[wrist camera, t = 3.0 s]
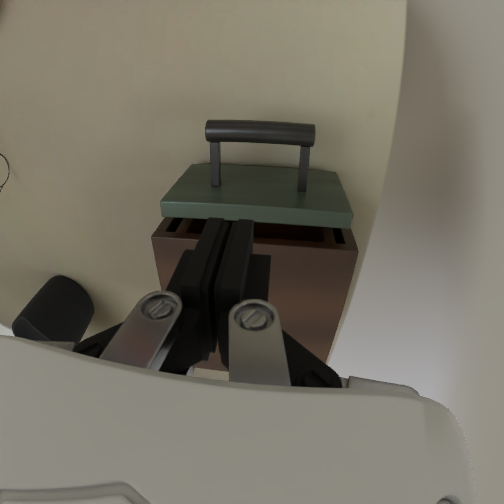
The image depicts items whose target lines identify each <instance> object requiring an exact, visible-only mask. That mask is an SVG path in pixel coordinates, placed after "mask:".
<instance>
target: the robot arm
mask: <svg viewBox="0 0 504 504" xmlns="http://www.w3.org/2000/svg"><path fill="white" fill-rule="evenodd" d="M253 232H254V220H250V219H239V220H238V223H237V222H233V224H232V227H231V230H230V233H229V222H224V218H214V217H209V218H208V220H207V222H206V224H205V226H204V229H203V231H202V233H201V235H200V238H199V240H198V242H197V244H196V247H195V249H194V250H190V249H186V250H184V252H183V254H182V256H181V258H180V260H179V262H178V264H177V266H176V269H175V271H174V273H173V275H172V277H171V279H170V281H169V284H168V286H167V288H166V290H165V291H155V292H152V293H149V294H147V295H145V296H144V297H143V298H142V299H141V300H140V301H139V302H138V303H137V304H136V306H135V307H134V309H133V310H132V311H131V313H130V314H129V315H128V317H127V318H126V320H125V321H124V322H122V323H120V324H118V325H116V326H113V327H111V328H109V329H107V330H105V331H102V332H100V333H98V334H96V335H94V336H92V337H89V338H87V339H85V340H83V341H82V342H80V343H79V344H78V345H76V344H75V342H58V341H35V340H34V341H32V340H28V339H24V338H20V337H14V336H4V335H0V504H478V502H477V501H478V500H477V491H476V484H475V478H474V473H473V468H472V463H471V458H470V454H469V450H468V447H467V443H466V440H465V437H464V435H463V432H462V429H461V427H460V425H459V423H458V421H457V420H456V418H455V416H454V415H453V414H452V412H451V411H450V410H449V409H447V408H446V407H445V406H443V405H442V404H440V403H438V402H436V401H434V400H431V399H429V398H426V397H422V396H420V395H419V394H418V392H417V391H416V390H414V389H413V388H412V387H409V386H405V385H399V384H393V383H387V382H380V381H375V380H369V379H364V378H358V377H354V376H349V378H348V379H346V378H341V377H339V375H338V374H337V373H336V372H335V371H334V370H333V369H331V368H330V367H329V366H328V365H326V364H325V363H324V362H323V361H321V360H320V359H319V358H317V357H316V356H315V355H314V354H312V353H311V352H310V351H309V350H307V349H306V348H305V347H304V346H302V345H301V344H300V343H299V342H297V341H296V340H295V339H294V338H292V337H291V336H290V335H289V334H288V333H286V332H285V331H284V330H283V329H282V328H281V323H280V317H279V313H278V311H277V309H276V308H275V307H274V306H273V305H272V304H270V303H269V302H268V294H269V280H270V266H271V255H263V254H253ZM217 343H218V348H219V354H220V355H221V363H222V364H223V365H224V366H225V367H226V368H227V369H228V370H229V381H221V380H213V379H205V378H198V377H192V375H193V372H194V368H195V367H194V365H195V364H197V363H198V362H200V361H208V359H209V355H210V353H215V351H216V347H217Z"/></svg>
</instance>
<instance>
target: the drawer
mask: <svg viewBox="0 0 504 504" xmlns="http://www.w3.org/2000/svg"><path fill="white" fill-rule="evenodd" d="M205 137H206V140H207V141H208V142H210V161H211V164H192V165H191V166H190V167H189V168H188V169H187V170H186V171H185V172H184V174H183V175H182V176H181V177H180V178H179V179H178V181H177V182H176V183H175V184H174V185H173V186H172V188H171V189H170V190H169V191H168V192H167V194H166V195H165V196H164V197H163V198H162V200H161V201H160V205H161V213H162V217H176V218H183V220H182V222H181V223H180V225H179V227H178V228H177V230H176V232H180V233H197V234H201V233H202V231H203V229H204V226H205V224H206V222H207V220H208V218H209V217H214V218H224V222H229V233H230V230H231V227H232V224H233V222H237V223H238V220H239V219H250V220H254V232H253V237H257V238H272V239H286V240H299V241H312V242H325V243H336V242H335V238H334V234H333V230H332V228H341V229H350V228H351V224H352V219H353V211H352V209H351V206H350V204H349V202H348V199H347V197H346V195H345V192H344V190H343V188H342V185H341V183H340V181H339V178H338V176H337V174H336V172H329V171H318V170H308V167H309V156H310V147H313V146H314V141H315V125H314V124H303V123H291V122H276V121H255V120H208V121H207V122H206V127H205ZM220 142H249V143H270V144H286V145H299V146H301V148H300V161H299V169H295V168H282V167H266V166H247V165H221V162H220Z"/></svg>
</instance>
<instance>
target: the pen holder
mask: <svg viewBox="0 0 504 504" xmlns="http://www.w3.org/2000/svg"><path fill="white" fill-rule="evenodd" d="M93 314H94V308H93V304H92V301H91V299H90V297H89V296H88V294H87V293H86V292H85V291H84V289H83V288H82V287H80V286H79V285H78V284H77V283H75V282H74V281H72V280H70V279H68V278H66V277H61V276H57V277H53V278H51V279H50V280H49V281H48V282H47V283H46V284H45V285H44V286H43V287H42V288H41V289H40V290H39V291H38V293H37V294H36V295H35V296H34V297H33V298H32V300H31V301H30V302H29V303H28V304H27V306H26V307H25V308H24V309H23V310H22V312H21V313H20V314H19V315H18V317H17V318H16V319H15V320H14V322H13V324H12V331H13V333H14V335H15V337H20V338H24V339H28V340H32V341H34V340H35V341H58V342H75V344H76V345H78V344H79V342H80V340H81V339H82V337H83V335H84V333H85V331H86V329H87V327H88V325H89V323H90V321H91V319H92V317H93Z"/></svg>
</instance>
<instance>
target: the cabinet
mask: <svg viewBox="0 0 504 504" xmlns="http://www.w3.org/2000/svg"><path fill="white" fill-rule="evenodd" d="M182 220H183V218H176V217H165V218H164V219H163V221H162V222H161V224H160V225H159V226H158V228H157V229H156V231H155V232H154V233H153V235H152V236H151V239H152V244H153V250H154V255H155V260H156V266H157V271H158V276H159V280H160V285H161V290H162V291H165V290H166V288H167V286H168V284H169V281H170V279H171V277H172V275H173V273H174V271H175V269H176V266H177V264H178V262H179V260H180V258H181V256H182V254H183V252H184V250H186V249H190V250H194V249H195V247H196V244H197V242H198V240H199V238H200V235H201V234H197V233H180V232H176V230H177V228H178V227H179V225H180V223H181V222H182ZM332 230H333V234H334V238H335V242H336V243H325V242H312V241H299V240H286V239H272V238H257V237H253V254H263V255H271V266H270V280H269V294H268V302H269V303H270V304H272V305H273V306H274V307H275V308H276V309H277V311H278V313H279V317H280V323H281V328H282V329H283V330H284V331H285V332H286V333H288V334H289V335H290V336H291V337H292V338H294V339H295V340H296V341H297V342H299V343H300V344H301V345H302V346H304V347H305V348H306V349H307V350H309V351H310V352H311V353H312V354H314V355H315V356H316V357H317V358H319V359H320V360H321V361H323V362H324V363H326V360H327V357H328V355H329V352H330V349H331V346H332V343H333V340H334V336H335V333H336V330H337V327H338V324H339V321H340V317H341V314H342V311H343V307H344V304H345V301H346V297H347V294H348V290H349V286H350V283H351V279H352V275H353V272H354V268H355V264H356V260H357V256H358V252H359V251H358V248H357V245H356V242H355V239H354V236H353V233H352V230H351V228H350V229H341V228H332ZM194 367H196V368H203V369H211V370H219V371H227V372H229V370H228V369H227V368H226V367H225V366H224V365H223V364H222V363H221V355H220V354H219V348H218V343H217V347H216V351H215V353H210V355H209V359H208V361H200V362H198V363H197V364H195V365H194Z"/></svg>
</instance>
